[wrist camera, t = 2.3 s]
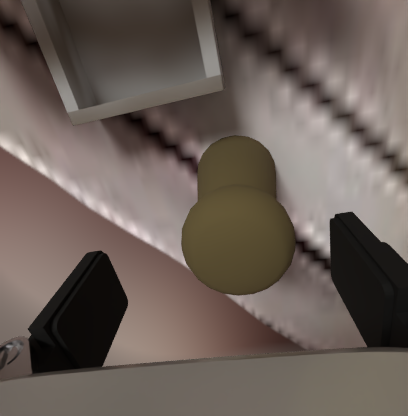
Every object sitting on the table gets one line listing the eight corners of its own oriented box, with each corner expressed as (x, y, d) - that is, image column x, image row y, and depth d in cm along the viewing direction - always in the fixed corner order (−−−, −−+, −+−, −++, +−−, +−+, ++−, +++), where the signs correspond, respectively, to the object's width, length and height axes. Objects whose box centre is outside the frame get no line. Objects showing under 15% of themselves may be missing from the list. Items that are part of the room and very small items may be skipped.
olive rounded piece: (274, 208, 22) (306, 318, 12) (200, 210, 22) (174, 314, 13) (277, 133, 19) (323, 193, 9) (194, 137, 20) (154, 198, 10)
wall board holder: (-51, -23, 17) (-310, -113, 9) (314, -167, 13) (451, -578, 5) (27, 134, 21) (-101, 171, 13) (321, 64, 17) (400, 54, 9)
